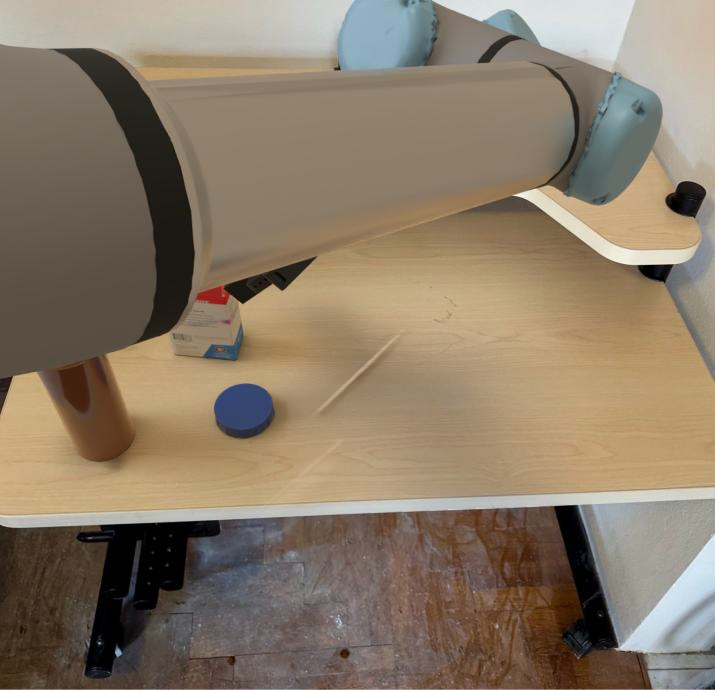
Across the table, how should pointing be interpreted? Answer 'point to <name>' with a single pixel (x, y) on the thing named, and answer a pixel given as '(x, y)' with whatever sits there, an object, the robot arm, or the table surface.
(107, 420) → the jar
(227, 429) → the lid
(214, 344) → the ink box
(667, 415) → the table surface
